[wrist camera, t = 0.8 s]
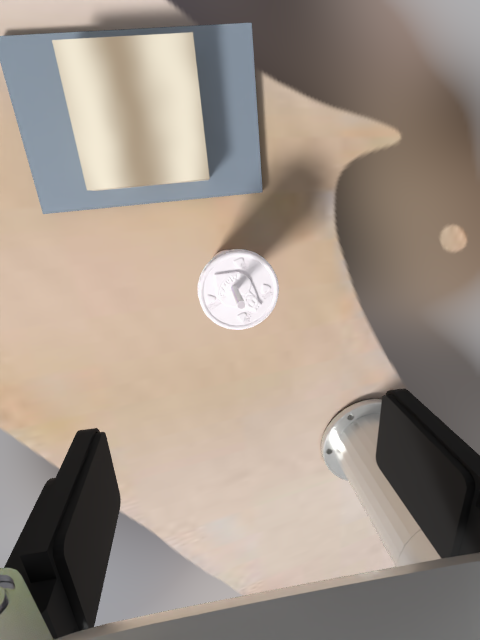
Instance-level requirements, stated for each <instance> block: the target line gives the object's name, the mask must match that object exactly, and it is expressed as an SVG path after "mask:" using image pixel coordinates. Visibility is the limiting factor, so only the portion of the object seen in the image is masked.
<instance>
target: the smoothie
mask: <svg viewBox="0 0 480 640" xmlns="http://www.w3.org/2000/svg"><path fill="white" fill-rule="evenodd" d="M278 293H279V286H278V280H277V277H276V274H275V272H274V270H273V269H272V267H271V265H270V264H269V263H268V262H267V261H266V260H265V259H264V258H263V257H262V256H260V255H258V254H257V253H255V252H252V251H249V250H245V249H232V250H223V251H220V252H218V253H217V254H215V255H214V257H213V258H212V259H211V260H210V261H209V262H208V263H207V265H206V266H205V267H204V269H203V271H202V273H201V274H200V278H199V282H198V297H199V300H200V304H201V306H202V309H203V310H204V312H205V314H206V315H207V316H208V317H209V318H210V319H211V320H212V321H213V322H214V323H216V324H218V325H219V326H222V327H224V328H228V329H234V330H241V329H247V328H251V327H253V326H255V325H257V324H259V323H261V322H262V321H263V320H265V319H266V318H267V317H268V316H269V314H270V313H271V312H272V310H273V309H274V307H275V305H276V302H277V299H278Z"/></svg>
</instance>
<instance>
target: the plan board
mask: <svg viewBox="0 0 480 640" xmlns="http://www.w3.org/2000/svg"><path fill="white" fill-rule="evenodd" d="M189 32H193V37H194V46H195V55H196V64H197V73H198V81H199V90H200V99H201V108H202V116H203V125H204V134H205V143H206V152H207V160H208V169H209V178H210V179H209V180H205V181H194V182H184V183H173V184H162V185H152V186H141V187H131V188H120V189H110V190H99V191H91V190H87V189H86V184H85V180H84V176H83V171H82V167H81V163H80V159H79V154H78V150H77V146H76V141H75V137H74V133H73V129H72V124H71V120H70V116H69V111H68V107H67V103H66V99H65V94H64V90H63V86H62V81H61V77H60V73H59V69H58V64H57V60H56V56H55V51H54V47H53V43H52V40H62V39H81V38H99V37H117V36H135V35H153V34H171V33H189ZM0 63H1V66H2V70H3V73H4V77H5V80H6V84H7V87H8V91H9V94H10V98H11V102H12V105H13V109H14V112H15V116H16V119H17V123H18V126H19V130H20V134H21V137H22V141H23V144H24V148H25V151H26V155H27V158H28V162H29V165H30V169H31V173H32V176H33V180H34V183H35V187H36V190H37V194H38V197H39V201H40V205H41V208H42V212H43V214H48V213H58V212H68V211H79V210H89V209H99V208H109V207H119V206H129V205H139V204H149V203H159V202H169V201H179V200H189V199H199V198H209V197H219V196H230V195H240V194H250V193H260V192H262V176H261V161H260V145H259V130H258V114H257V99H256V83H255V68H254V52H253V37H252V23H235V24H218V25H198V26H179V27H160V28H142V29H123V30H104V31H86V32H67V33H48V34H29V35H11V36H0Z"/></svg>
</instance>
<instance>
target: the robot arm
mask: <svg viewBox="0 0 480 640" xmlns="http://www.w3.org/2000/svg"><path fill="white" fill-rule="evenodd" d="M321 452H322V457H323V459H324V461H325V463H326V465H327V467H328V468H329V470H330V471H331V472H332V473H333V474H334V475H336V476H337V477H339V478H341V479H344V480H347V481H349V483H350V485H351V486H352V488H353V490H354V492H355V494H356V496H357V497H358V499H359V501H360V503H361V505H362V506H363V508H364V510H365V512H366V514H367V516H368V517H369V519H370V521H371V523H372V525H373V527H374V528H375V530H376V532H377V534H378V536H379V537H380V539H381V541H382V543H383V545H384V547H385V548H386V550H387V552H388V554H389V556H390V557H391V559H392V561H393V563H394V565H395V567H393V568H388V569H382V570H377V571H371V572H366V573H360V574H355V575H350V576H344V577H339V578H334V579H329V580H323V581H318V582H313V583H307V584H302V585H297V586H292V587H286V588H281V589H276V590H271V591H265V592H260V593H255V594H250V595H245V596H240V597H235V598H230V599H225V600H219V601H214V602H210V603H204V604H199V605H194V606H189V607H184V608H179V609H174V610H168V611H164V612H159V613H154V614H150V615H145V616H141V617H136V618H132V619H127V620H122V621H117V622H113V623H108V624H105V625H101V626H97V627H94V624H95V620H96V615H97V610H98V606H99V601H100V597H101V592H102V588H103V583H104V578H105V574H106V569H107V565H108V560H109V556H110V551H111V546H112V542H113V537H114V533H115V528H116V523H117V519H118V514H119V510H120V493H119V488H118V484H117V480H116V476H115V471H114V467H113V463H112V459H111V454H110V450H109V446H108V442H107V437H106V434H105V432H100V431H99V430H98V429H97V428H95V429H87V430H79V431H78V432H77V433H76V435H75V437H74V440H73V442H72V444H71V446H70V448H69V450H68V452H67V455H66V457H65V459H64V461H63V463H62V465H61V468H60V470H59V472H58V474H57V476H56V478H52V479H49V480H48V481H47V483H46V484H45V486H44V488H43V490H42V492H41V494H40V496H39V498H38V500H37V502H36V504H35V506H34V508H33V510H32V512H31V514H30V516H29V518H28V520H27V522H26V525H25V527H24V529H23V531H22V532H21V534H20V537H19V539H18V541H17V543H16V545H15V547H14V549H13V551H12V553H11V555H10V557H9V559H8V561H7V563H6V565H5V567H4V568H0V640H480V455H478V454H477V453H476V452H475V451H474V450H473V449H472V448H471V447H469V446H468V445H467V444H466V443H465V442H464V441H463V440H462V439H461V438H460V437H459V436H457V435H456V434H455V433H454V432H453V431H452V430H451V429H450V428H449V427H447V426H446V425H445V424H444V423H443V422H442V421H441V420H440V419H439V418H438V417H437V416H435V415H434V414H433V413H432V412H431V411H430V410H429V409H428V408H427V407H425V406H424V405H423V404H422V403H421V402H420V401H419V400H418V399H417V398H416V397H414V396H413V395H412V394H411V393H410V392H409V391H408V390H406V389H397V390H390V391H387V393H386V395H384V396H383V397H382V399H370V400H364V401H361V402H358V403H355V404H353V405H351V406H349V407H347V408H346V409H344V410H343V411H341V412H340V413H339V414H338V415H337V416H336V417H335V418H334V419H333V420H332V421H331V422H330V424H329V425H328V426H327V428H326V430H325V432H324V434H323V438H322V442H321Z"/></svg>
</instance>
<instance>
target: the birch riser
mask: <svg viewBox="0 0 480 640" xmlns="http://www.w3.org/2000/svg"><path fill="white" fill-rule="evenodd" d="M52 43H53V47H54V51H55V56H56V60H57V64H58V69H59V73H60V77H61V81H62V86H63V90H64V94H65V99H66V103H67V107H68V111H69V116H70V120H71V124H72V129H73V133H74V137H75V141H76V146H77V150H78V154H79V159H80V163H81V167H82V171H83V176H84V180H85V184H86V189H87V190H91V191H99V190H110V189H120V188H131V187H141V186H152V185H162V184H173V183H184V182H194V181H205V180H209V179H210V178H209V169H208V160H207V152H206V143H205V134H204V125H203V116H202V108H201V99H200V90H199V81H198V73H197V64H196V55H195V46H194V37H193V32H189V33H171V34H153V35H135V36H117V37H99V38H81V39H62V40H52Z"/></svg>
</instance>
